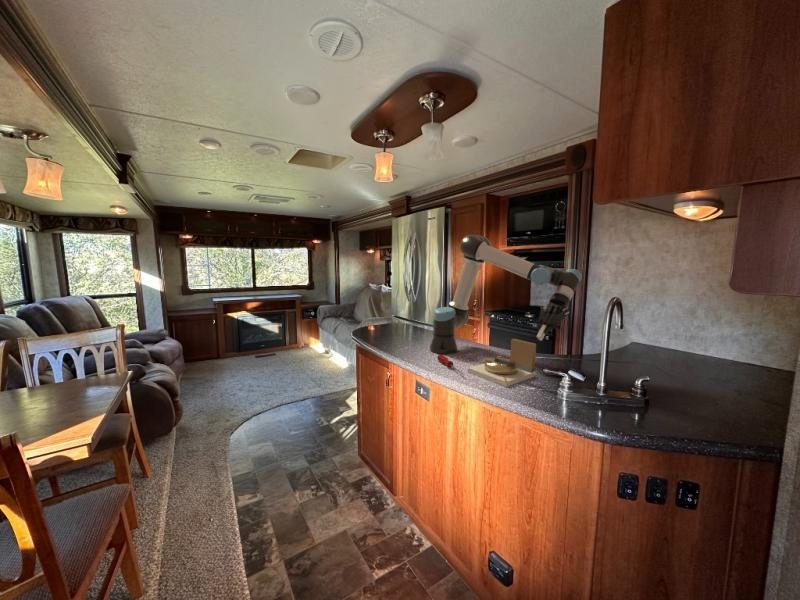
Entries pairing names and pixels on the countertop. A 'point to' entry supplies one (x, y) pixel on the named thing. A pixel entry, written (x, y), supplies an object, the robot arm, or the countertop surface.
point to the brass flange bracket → (514, 359)
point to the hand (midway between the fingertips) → (539, 338)
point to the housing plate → (500, 379)
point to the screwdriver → (446, 362)
